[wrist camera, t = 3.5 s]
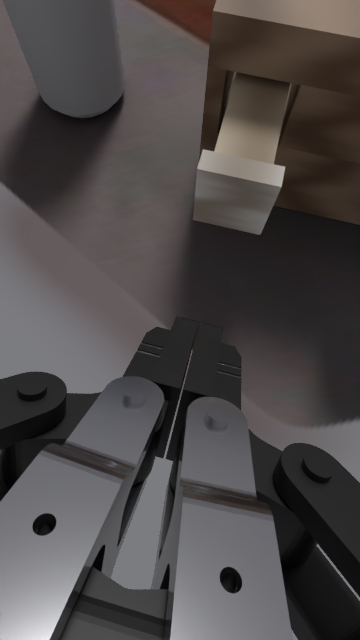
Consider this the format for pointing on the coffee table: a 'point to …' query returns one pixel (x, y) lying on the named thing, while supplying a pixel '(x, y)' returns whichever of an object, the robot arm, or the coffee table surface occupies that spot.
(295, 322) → the coffee table surface
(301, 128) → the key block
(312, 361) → the coffee table surface
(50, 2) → the can
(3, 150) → the coffee table surface
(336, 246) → the coffee table surface
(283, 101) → the key cream
